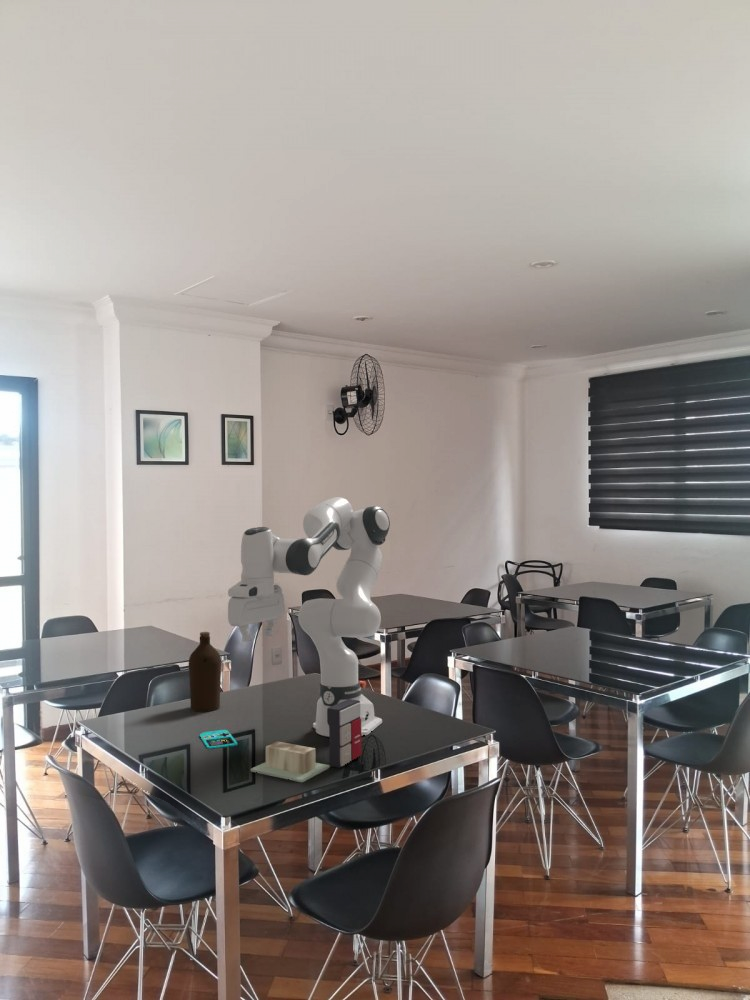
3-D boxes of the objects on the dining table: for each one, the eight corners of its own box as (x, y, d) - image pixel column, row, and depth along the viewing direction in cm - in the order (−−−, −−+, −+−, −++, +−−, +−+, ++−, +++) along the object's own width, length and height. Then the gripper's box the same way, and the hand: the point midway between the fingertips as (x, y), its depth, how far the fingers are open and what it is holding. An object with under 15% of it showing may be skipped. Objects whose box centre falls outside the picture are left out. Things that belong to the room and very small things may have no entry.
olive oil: (227, 708, 258) (227, 632, 258) (199, 714, 251) (198, 636, 251) (211, 702, 266) (210, 628, 266) (182, 708, 258) (182, 632, 258)
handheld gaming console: (226, 728, 232) (238, 743, 219) (226, 731, 232) (238, 746, 219) (198, 732, 229) (207, 747, 215) (198, 735, 229) (208, 750, 215)
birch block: (277, 741, 204) (315, 748, 198) (277, 760, 204) (315, 768, 198) (265, 746, 199) (303, 754, 193) (265, 766, 199) (304, 774, 193)
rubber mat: (279, 757, 208) (279, 755, 208) (329, 767, 200) (329, 765, 200) (250, 771, 197) (250, 768, 197) (302, 782, 189) (302, 780, 189)
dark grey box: (341, 769, 198) (341, 710, 198) (327, 766, 201) (326, 708, 201) (363, 756, 208) (362, 700, 208) (349, 754, 210) (348, 698, 210)
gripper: (272, 583, 222) (272, 631, 222) (223, 590, 204) (224, 643, 204) (290, 584, 219) (290, 633, 219) (242, 591, 201) (242, 645, 201)
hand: (258, 638), depth 211 cm, fingers open, 8 cm apart
